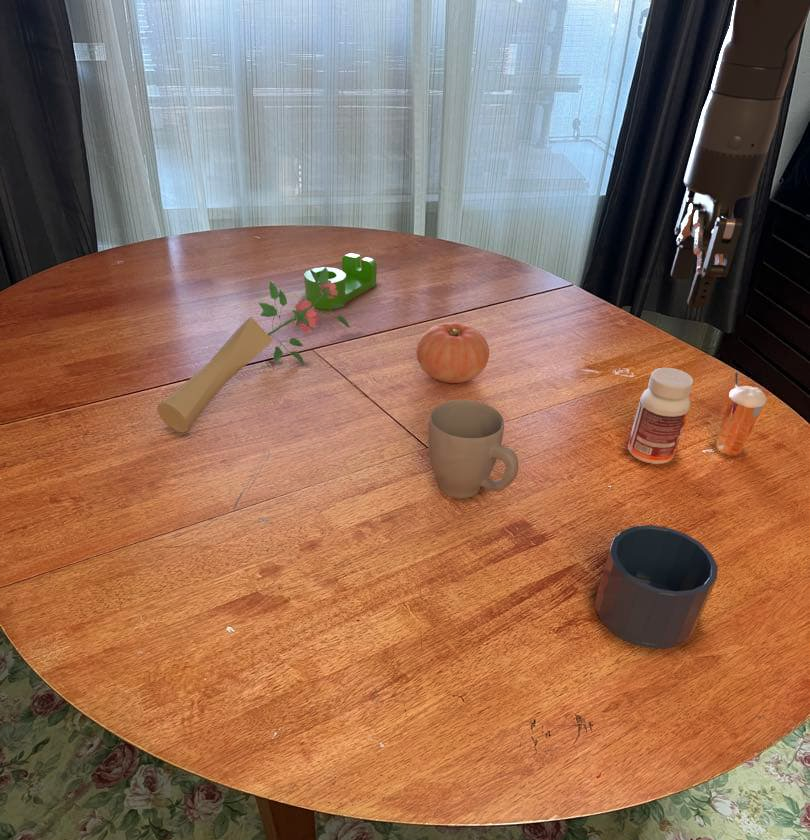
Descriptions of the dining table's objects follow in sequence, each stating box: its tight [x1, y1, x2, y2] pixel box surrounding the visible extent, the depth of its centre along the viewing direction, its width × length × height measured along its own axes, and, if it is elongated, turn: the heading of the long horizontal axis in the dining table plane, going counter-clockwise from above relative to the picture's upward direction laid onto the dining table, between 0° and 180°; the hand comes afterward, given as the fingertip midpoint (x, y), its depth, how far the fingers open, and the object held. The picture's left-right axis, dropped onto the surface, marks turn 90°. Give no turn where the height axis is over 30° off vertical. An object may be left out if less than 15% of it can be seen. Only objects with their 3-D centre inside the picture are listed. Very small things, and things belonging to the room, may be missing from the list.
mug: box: [427, 399, 519, 499], centre depth 91 cm, size 12×9×10 cm
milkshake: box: [715, 372, 767, 456], centre depth 101 cm, size 4×5×10 cm
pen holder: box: [594, 524, 719, 650], centre depth 77 cm, size 10×10×8 cm
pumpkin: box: [416, 322, 490, 384], centre depth 113 cm, size 11×11×8 cm
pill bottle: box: [627, 367, 694, 465], centre depth 99 cm, size 6×6×11 cm
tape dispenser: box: [304, 252, 378, 310], centre depth 136 cm, size 15×7×5 cm, turn 149°
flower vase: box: [156, 266, 351, 434], centre depth 110 cm, size 12×12×35 cm
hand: (687, 291), depth 90 cm, fingers open, 8 cm apart
